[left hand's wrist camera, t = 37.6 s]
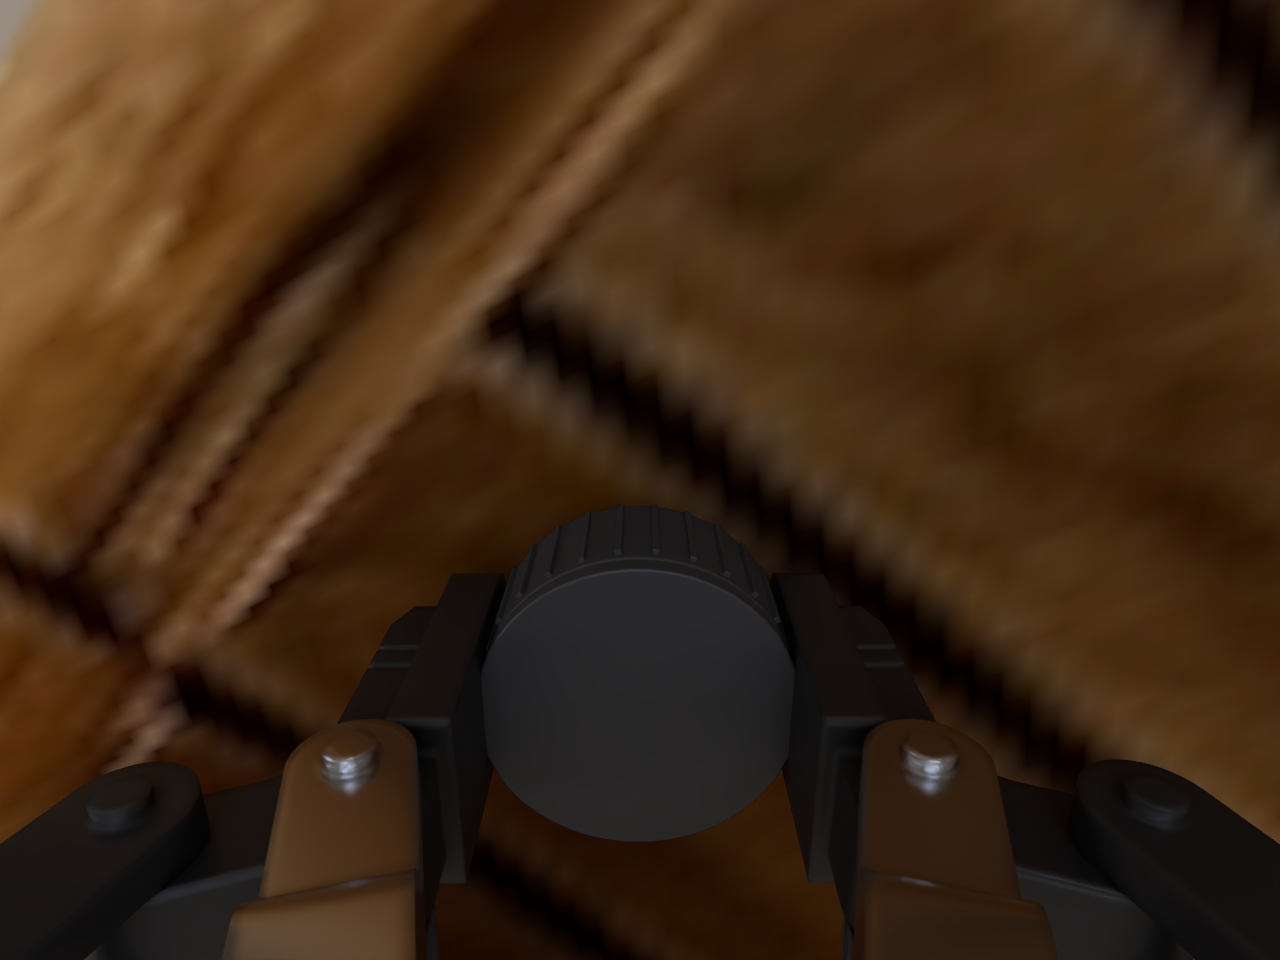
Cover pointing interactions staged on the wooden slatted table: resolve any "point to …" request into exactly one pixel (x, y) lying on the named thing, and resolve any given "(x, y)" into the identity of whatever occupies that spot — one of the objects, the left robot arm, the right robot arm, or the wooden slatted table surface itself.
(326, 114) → the wooden slatted table surface
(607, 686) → the cap
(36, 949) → the left robot arm
